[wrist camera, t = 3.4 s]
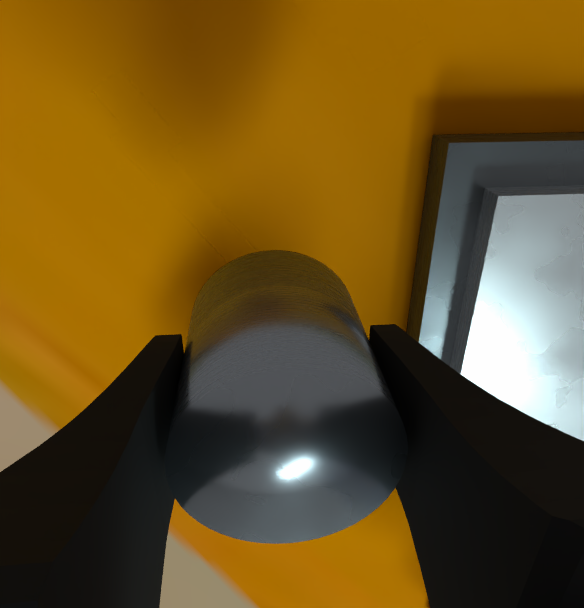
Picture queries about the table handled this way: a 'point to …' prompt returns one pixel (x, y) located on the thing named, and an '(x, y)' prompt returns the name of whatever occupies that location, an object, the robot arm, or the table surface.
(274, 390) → the cylinder
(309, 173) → the table surface
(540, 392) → the dial scale
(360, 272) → the table surface
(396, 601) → the table surface
